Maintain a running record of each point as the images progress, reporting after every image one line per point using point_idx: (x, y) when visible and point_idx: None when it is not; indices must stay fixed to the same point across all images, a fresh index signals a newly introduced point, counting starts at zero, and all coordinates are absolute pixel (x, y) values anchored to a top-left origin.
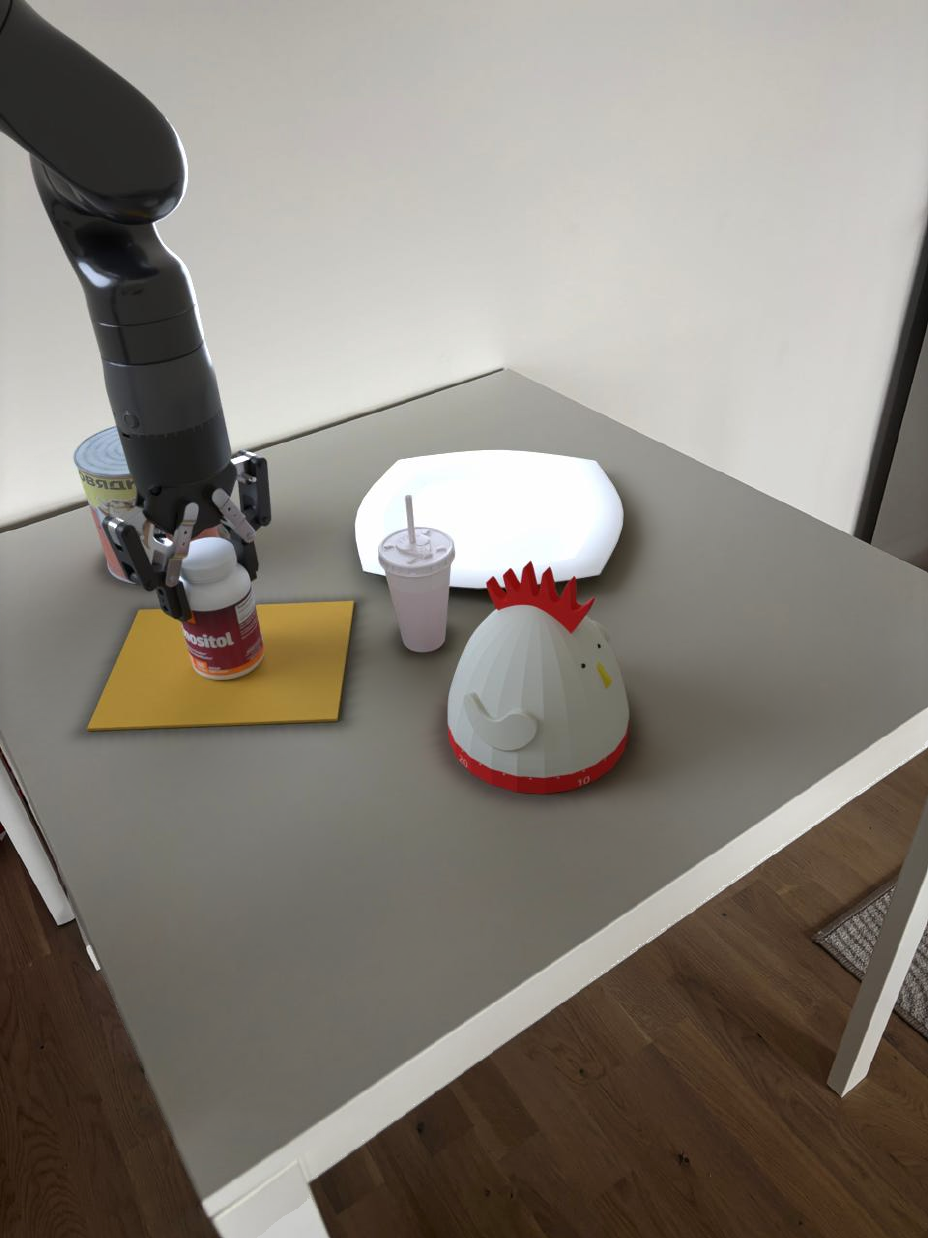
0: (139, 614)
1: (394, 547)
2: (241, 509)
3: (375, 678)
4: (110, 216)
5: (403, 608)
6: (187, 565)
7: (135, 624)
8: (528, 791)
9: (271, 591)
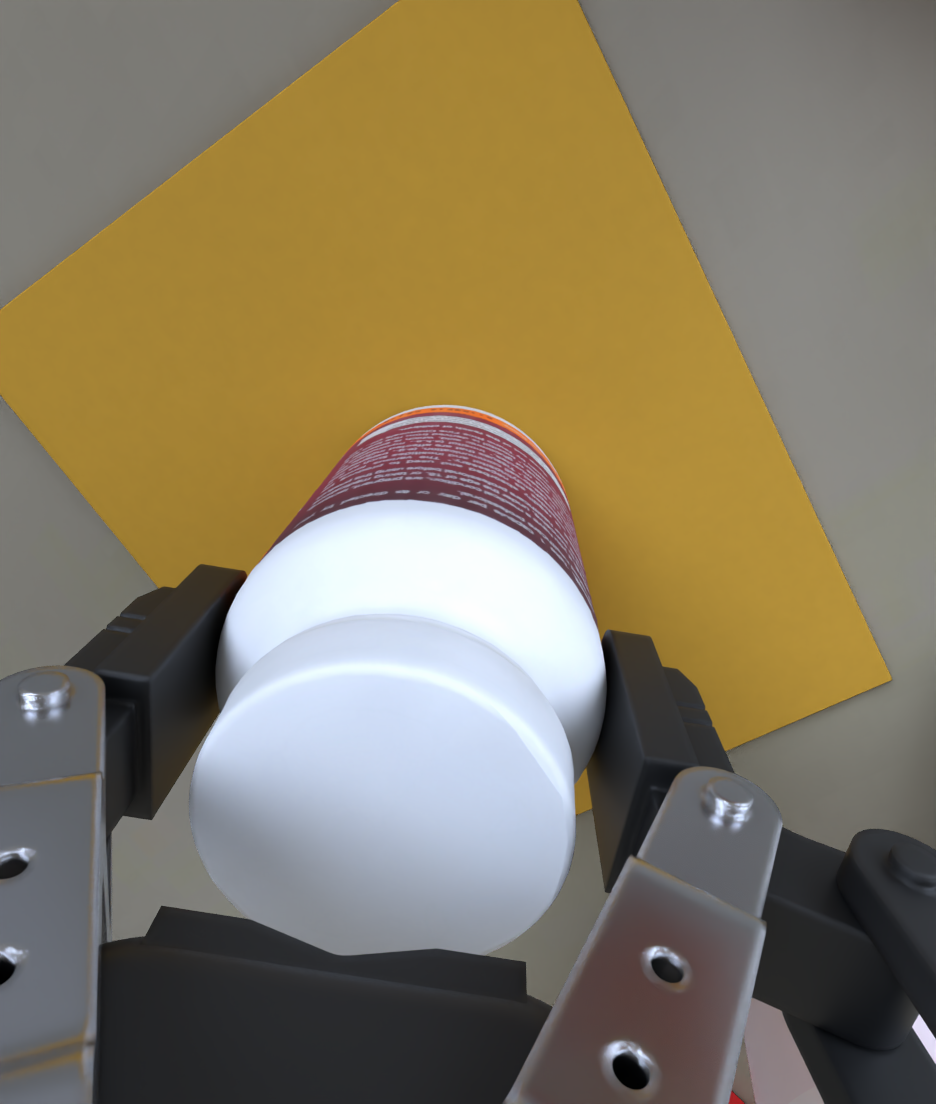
0: None
1: None
2: (873, 910)
3: (583, 878)
4: None
5: (751, 1053)
6: (211, 841)
7: None
8: None
9: (873, 369)
